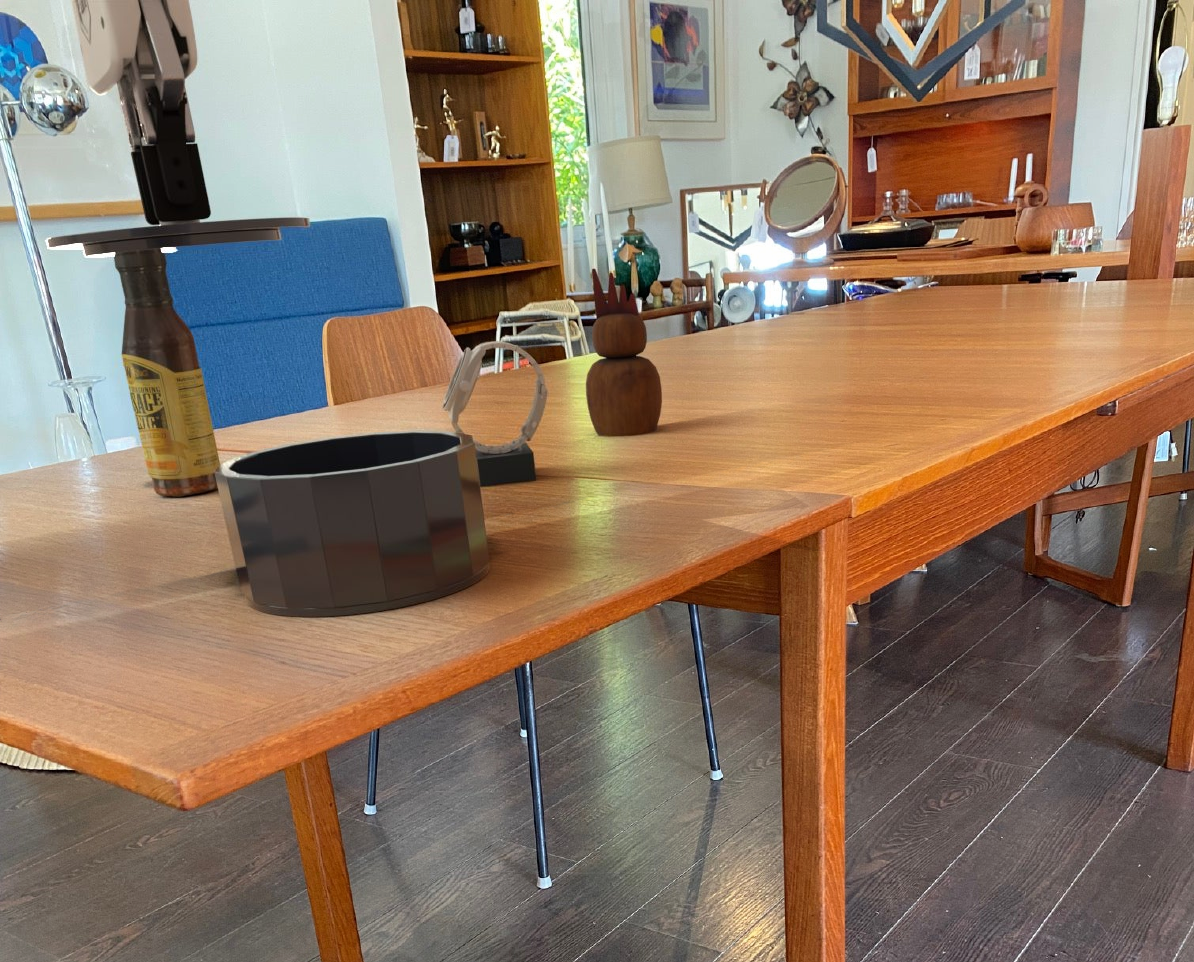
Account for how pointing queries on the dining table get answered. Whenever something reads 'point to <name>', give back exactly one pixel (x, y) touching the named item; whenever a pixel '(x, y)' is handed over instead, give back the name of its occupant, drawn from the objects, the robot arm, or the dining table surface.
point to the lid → (179, 236)
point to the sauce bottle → (165, 382)
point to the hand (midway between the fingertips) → (178, 218)
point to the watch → (500, 460)
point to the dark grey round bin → (355, 522)
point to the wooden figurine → (621, 368)
